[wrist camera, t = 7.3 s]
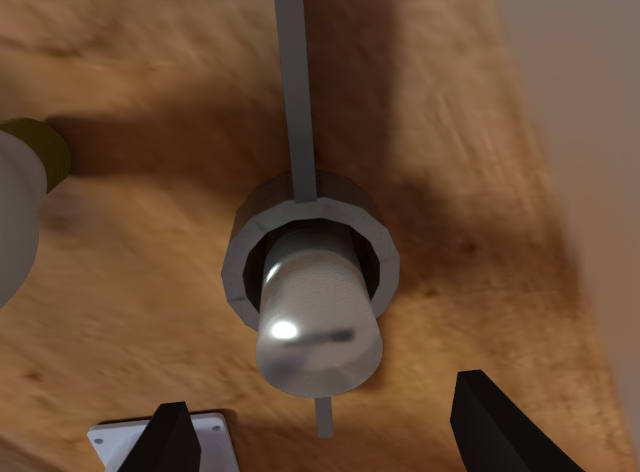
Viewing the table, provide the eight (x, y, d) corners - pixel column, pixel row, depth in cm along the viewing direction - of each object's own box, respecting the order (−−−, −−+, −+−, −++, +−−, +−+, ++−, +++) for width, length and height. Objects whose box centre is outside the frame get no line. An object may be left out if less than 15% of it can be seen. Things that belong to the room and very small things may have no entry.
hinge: (379, 384, 23) (391, 430, 21) (262, 397, 23) (259, 445, 20) (389, -28, 13) (415, -41, 11) (180, -15, 13) (153, -25, 10)
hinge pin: (354, 272, 19) (385, 388, 13) (275, 283, 19) (268, 405, 13) (347, 199, 17) (380, 296, 11) (259, 211, 17) (243, 315, 11)
